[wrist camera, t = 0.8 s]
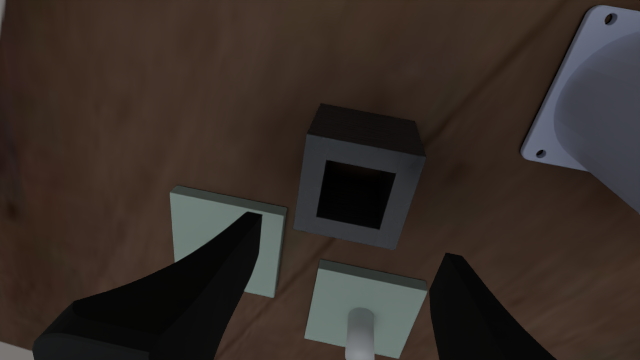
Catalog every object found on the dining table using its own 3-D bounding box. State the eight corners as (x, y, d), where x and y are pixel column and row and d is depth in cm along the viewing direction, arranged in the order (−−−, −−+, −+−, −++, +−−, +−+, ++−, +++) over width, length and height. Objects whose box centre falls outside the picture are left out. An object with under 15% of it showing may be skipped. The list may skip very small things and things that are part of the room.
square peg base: (287, 207, 24) (270, 249, 20) (276, 288, 28) (261, 336, 24) (177, 185, 25) (140, 222, 21) (181, 267, 29) (151, 312, 25)
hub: (414, 121, 20) (426, 157, 16) (390, 200, 23) (394, 250, 19) (320, 103, 21) (306, 134, 16) (307, 184, 23) (293, 229, 19)
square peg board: (425, 281, 26) (435, 333, 22) (397, 347, 30) (401, 401, 26) (320, 259, 26) (311, 306, 22) (306, 328, 30) (296, 378, 26)
